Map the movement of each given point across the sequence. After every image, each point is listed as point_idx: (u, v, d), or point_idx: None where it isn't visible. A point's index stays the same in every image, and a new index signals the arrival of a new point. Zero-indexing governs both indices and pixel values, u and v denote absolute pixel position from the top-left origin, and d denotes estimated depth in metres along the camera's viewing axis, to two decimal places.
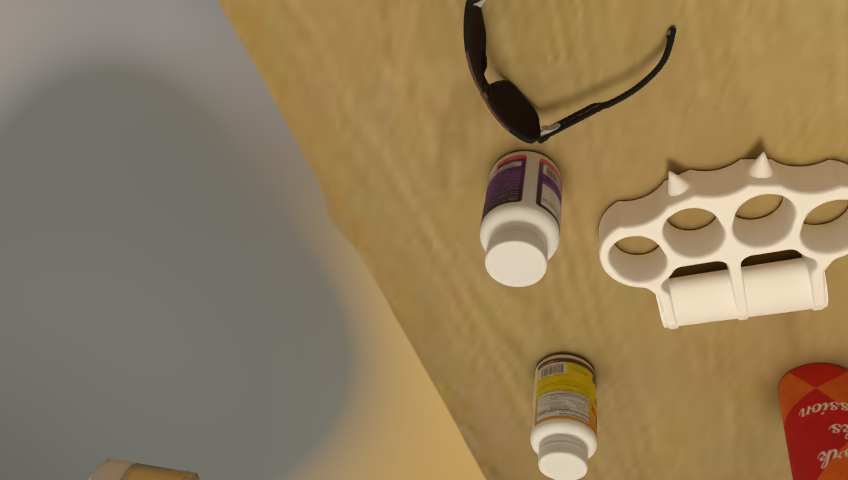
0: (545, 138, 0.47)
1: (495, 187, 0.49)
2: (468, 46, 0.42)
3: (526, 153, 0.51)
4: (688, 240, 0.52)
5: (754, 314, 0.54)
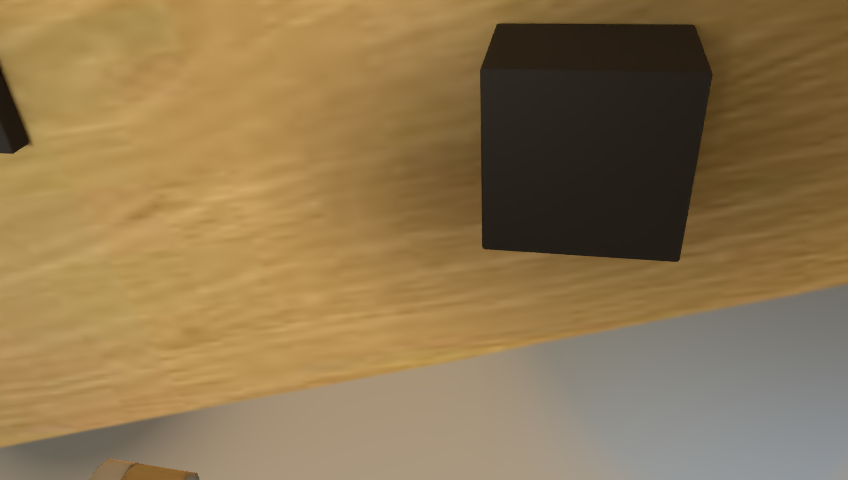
0: None
1: None
2: None
3: None
4: None
5: None
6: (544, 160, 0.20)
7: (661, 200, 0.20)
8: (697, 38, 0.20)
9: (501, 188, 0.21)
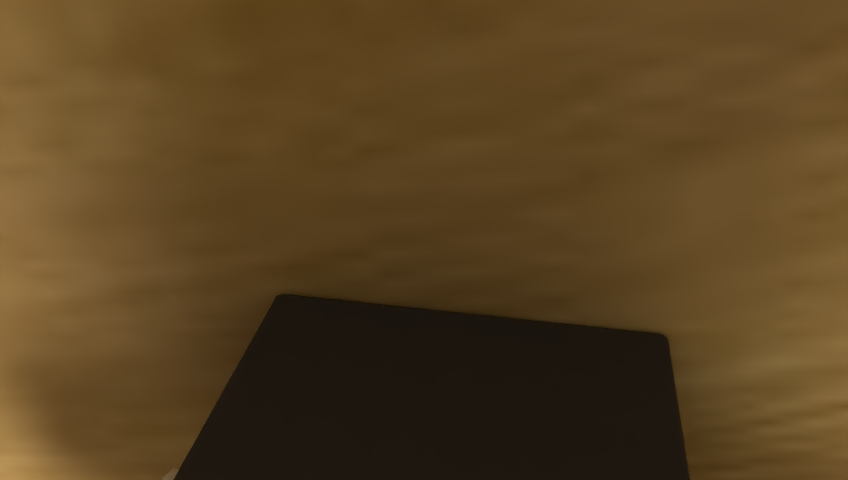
0: None
1: None
2: None
3: None
4: None
5: None
6: None
7: None
8: (671, 399, 0.09)
9: None
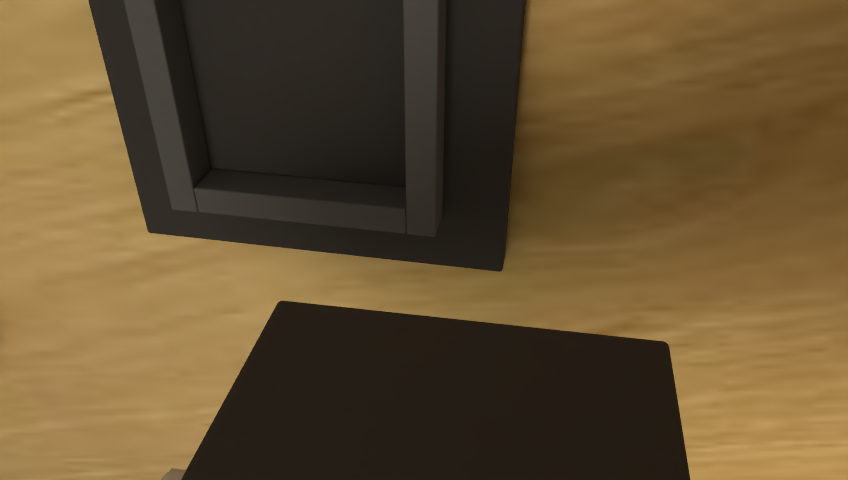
0: None
1: None
2: None
3: None
4: None
5: None
6: None
7: None
8: (673, 406, 0.09)
9: None
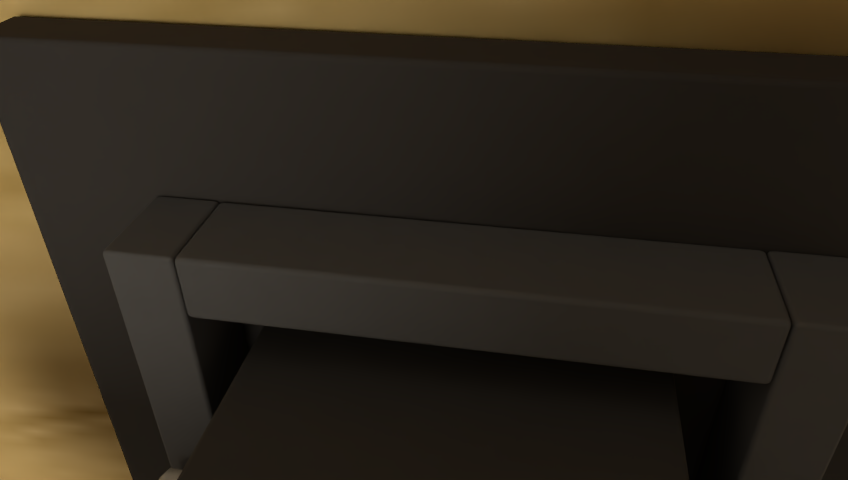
0: None
1: None
2: None
3: None
4: None
5: None
6: None
7: None
8: (673, 412, 0.09)
9: None
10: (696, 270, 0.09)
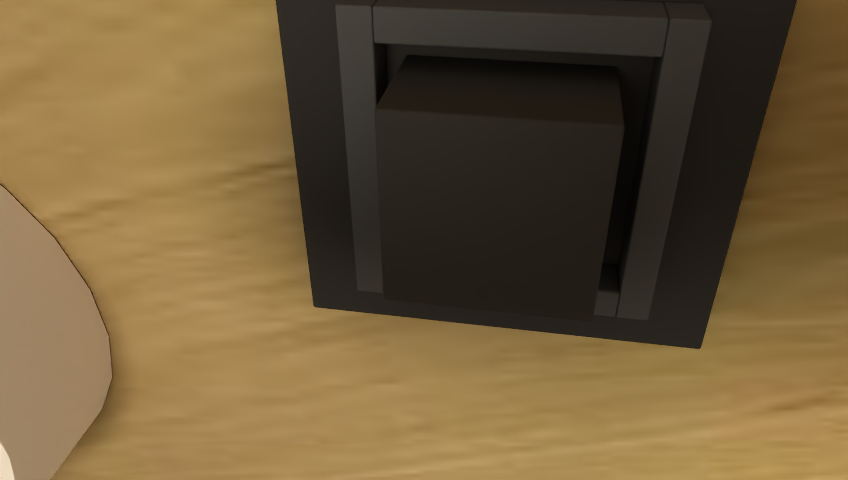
0: None
1: None
2: None
3: None
4: None
5: None
6: (446, 210, 0.19)
7: (572, 258, 0.19)
8: (616, 83, 0.19)
9: (401, 237, 0.19)
10: (628, 7, 0.18)
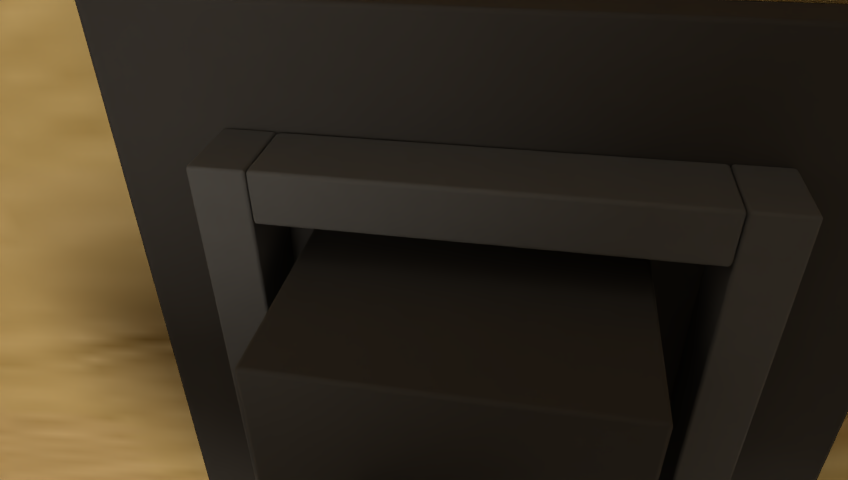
0: None
1: None
2: None
3: None
4: None
5: None
6: None
7: None
8: (650, 297, 0.11)
9: None
10: (672, 177, 0.11)
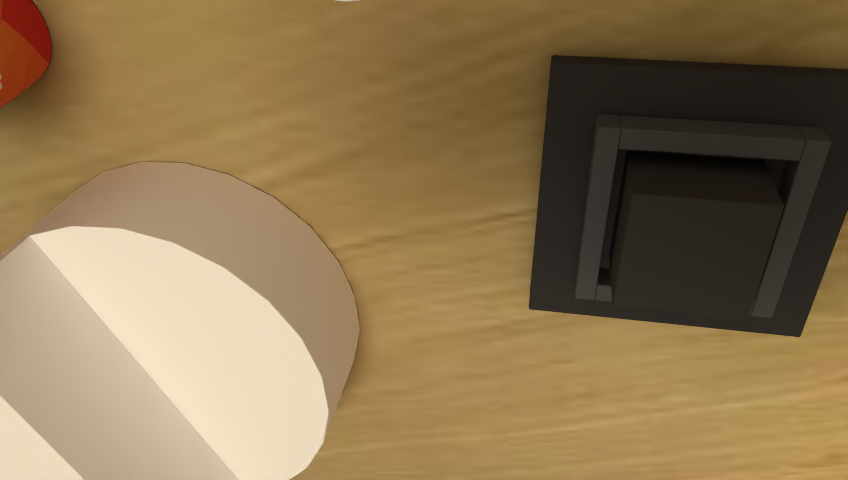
0: None
1: None
2: None
3: None
4: None
5: None
6: (666, 251, 0.31)
7: (741, 280, 0.31)
8: (768, 174, 0.31)
9: (633, 267, 0.32)
10: (777, 130, 0.30)
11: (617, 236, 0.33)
